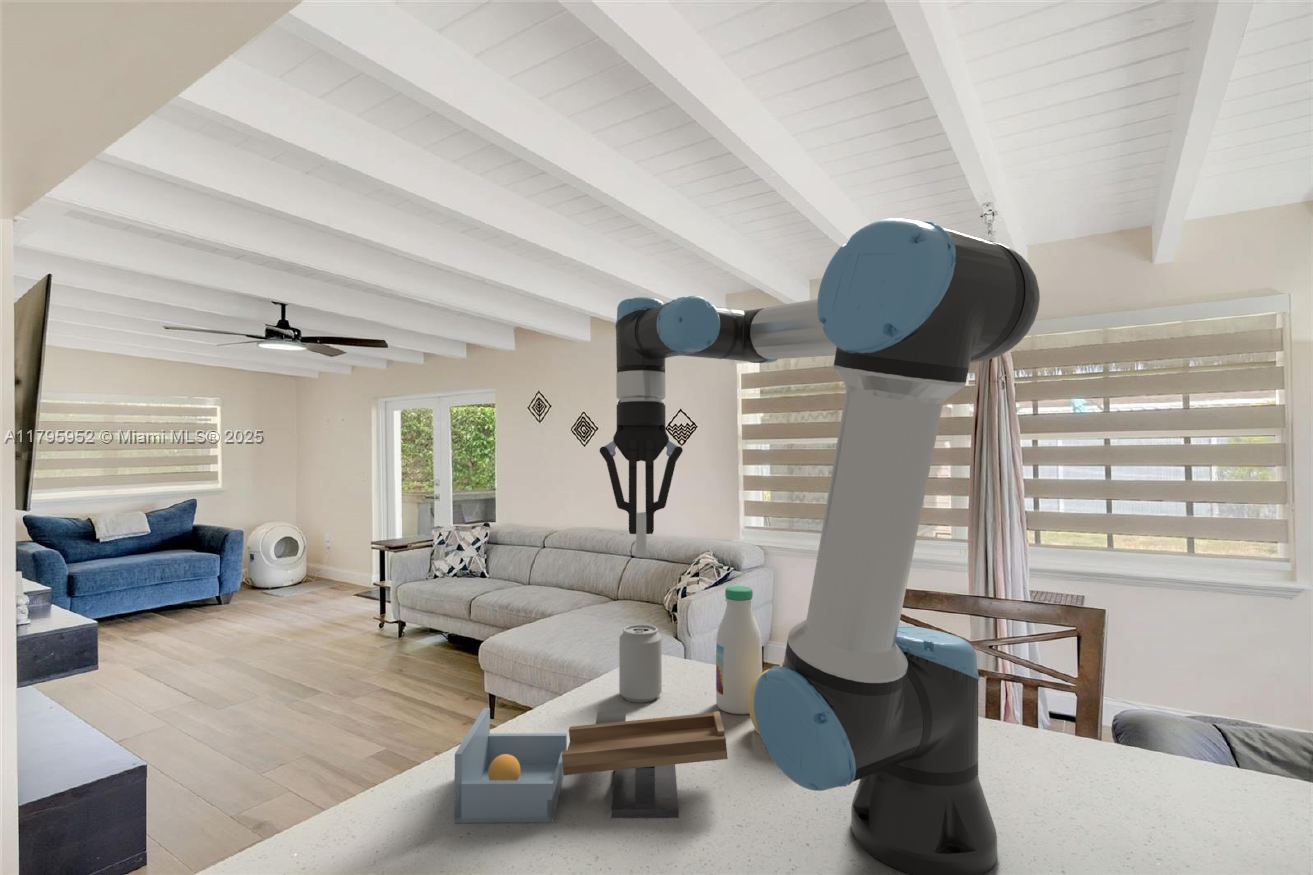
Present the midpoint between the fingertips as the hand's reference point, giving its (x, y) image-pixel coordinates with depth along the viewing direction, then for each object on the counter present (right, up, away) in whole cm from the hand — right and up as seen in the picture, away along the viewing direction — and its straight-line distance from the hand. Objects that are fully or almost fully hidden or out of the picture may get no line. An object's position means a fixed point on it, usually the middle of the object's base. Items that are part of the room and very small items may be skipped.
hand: (641, 555), depth 101 cm
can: (-1, -28, +16) cm, 32 cm away
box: (-16, -27, -17) cm, 36 cm away
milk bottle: (+16, -28, +11) cm, 34 cm away
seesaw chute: (+1, -22, -13) cm, 26 cm away
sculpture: (+22, -28, -1) cm, 36 cm away
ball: (-17, -24, -17) cm, 34 cm away
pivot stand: (+1, -27, -17) cm, 32 cm away
